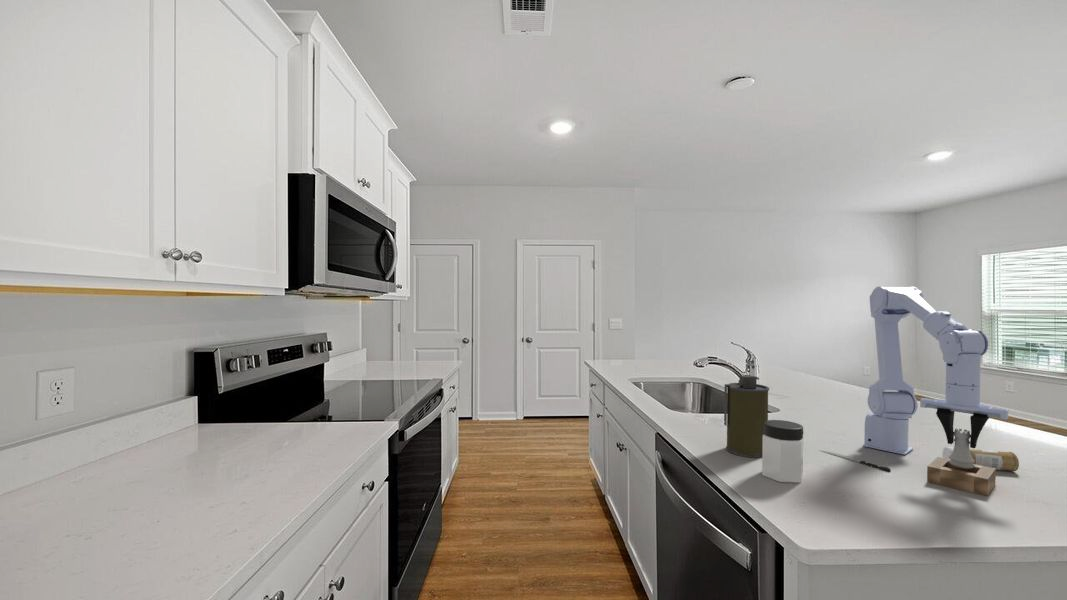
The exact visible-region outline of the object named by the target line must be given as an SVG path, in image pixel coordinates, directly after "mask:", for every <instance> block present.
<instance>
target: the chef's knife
mask: <svg viewBox="0 0 1067 600" xmlns="http://www.w3.org/2000/svg"><path fill="white" fill-rule="evenodd" d="M818 451H819V452H822V453H825V454H829V455H831V456H836V457H838V458H842V459H844V460H848V461H850V462H851V461H852V462H854V461H855V462H854V463H857V462H858V464H861V465H864V464H865V465H864V466H867V465H868V466H867V467H871V466H872V467H871V468H874V467H875V468H874V469H877V468H879V469H878V470H881V469H882V470H881V471H884V470H885V471H884V472H888V473H890V472H891V471H892V469H891V468H889V467H888V466H881V465H877V464H873V463H870V462H868V461H866V460H863V459H860V458H856V457H852V456H847V455H844V454H841V453H837V452H831V451H825V450H821V449H820V450H819V449H818Z"/></svg>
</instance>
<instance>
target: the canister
mask: <svg viewBox="0 0 1067 600" xmlns="http://www.w3.org/2000/svg"><path fill="white" fill-rule="evenodd" d="M757 380H760V378H759V377H758V376H754V375H739V379H738V382H729V383H725V384H724V392H723V393H724V394H723V395H724V405H723V409H724V412H723V413H724V414H723V416H724V417H723V418H724V420H723V422H724V423H723V425H724V426H725V427H726V446H725V450H726V451H727V452H728V453H729V454H732V455H735V456H739V457H744V458H753V459H754V458H755V459H758V458H760V459H761V458H762V448H763V434H764V433H763V425H764V422H765V421H767V420H769V391H770V387H769V386H767V385H763V384H758V383H757Z"/></svg>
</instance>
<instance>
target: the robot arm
mask: <svg viewBox="0 0 1067 600" xmlns="http://www.w3.org/2000/svg"><path fill="white" fill-rule="evenodd" d="M869 308H870V316H871V318H873V319H874V329H875V339H876V340H875V341H876V343H875V344H876V353H877V366H878V367H877V369H878V378H879V379H877V381H875V382H874V383H873V384H871V385H870V386H868V396H867V407H868V409H869V410H870V412H868V413H866V415H865V418H864V444H863V447H865V448H866V447H867V448H870V449H875V450H880V451H885V452H890V453H895V454H898V455H904V456H905V455H906V456H907V454H909V453H910V452H911V451H913V450H914V447H913V446H909V419H912V416H914V415H915V414H916V413H917V410H918V406H919V405H920V408H923V409H926V408H927V409H935V410H936V412H935V414H936V417H937V419H939V422H940V423H941V425H942V428H943V431H944V434H945V437H946V440H947V444H948V445H953V444H955V441H954V439H955V436H954V435H953V432H954V423H955V422H954V419H955V413H962V414H970V415H971V416H970V418H969V419H970V434H971V438H969V441H970V444H969V449H975V448H977V445H978V444H977V443H978V439H979V436H980V434H981V432H982V430H983V428H984V426H985V424H986V423H987V422H988V420H989V419H990V418H998V419H1000V420H1008V419H1009V409H1007V408H1002V407H995V406H990V405H985V404H980V402H981V401H980V399H981V356H984V355H985V354H986V353H987V351H988V349H989V339H988V338H987V336H986V334H985V333H983V331H982V330H980V329H971V328H968V327H966V325H964V324H963V323H961V321H958V320H957V319H955V318H954V317H953V316H952V313H950V312H949V311H942V310H940V311H939V310H938V311H937V310H936V309H935V308H933V306H932V305H930V304H929V303H928V302H927V301H926V300H925V299H924V296H923V291H922V290H919V288H918V287H916V286H876V287H874V289H873V290H872V292H871V294H870V295H869ZM911 314H912V315H913V316H915V317H916V318H918V319H919V320H921V321H922V326H923V329H924V330H925V331H927V333H928V334H929V335H931V336H932V337H934V338H935V339H936V340H937V341H938V345H939V349H940V351H941V353H942V360H943V362H944V363H945V399H935V398H926V397H922V398H920V400H919V402H920V404H919V405H918V400H917V397H916V396H915V393H914V392H915V391H914V388H913V386H912V385H910V384H909V383H908V382H906V381H904V379H903V378H904V377H903V365H902V364H903V363H902V356H901V355H902V354H901V344H900V333H899V332H900V331H899V322H900V321H901V320H902V319H903V318H907V317H908V316H909V315H911Z"/></svg>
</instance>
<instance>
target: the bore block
mask: <svg viewBox="0 0 1067 600" xmlns="http://www.w3.org/2000/svg"><path fill="white" fill-rule="evenodd" d="M949 460H951V459H946V458H943V457H940V456H936V458H935V459H934V460H932V461H931V462H930V463H929V464H928V465H927V468H926V470H927V471H926V473H927V476H926V482H927V481H928V483H931V482H932V483H931V484H936V485H941V486H945V487H948V488H953V489H956V490H960V491H965V492H969V493H974V494H978V495H982V496H987V497H989V495H990V494H991V492H992V490H993V488H994V487H995V486H996V476H997V475H996V472H997V470H996V468H991V467H986V466H981V465H976V464H974V465H975V467H974V468H972V469H963V468H958V467H955V466H952V465H951V464H950V463H949V462H948V461H949Z"/></svg>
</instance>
